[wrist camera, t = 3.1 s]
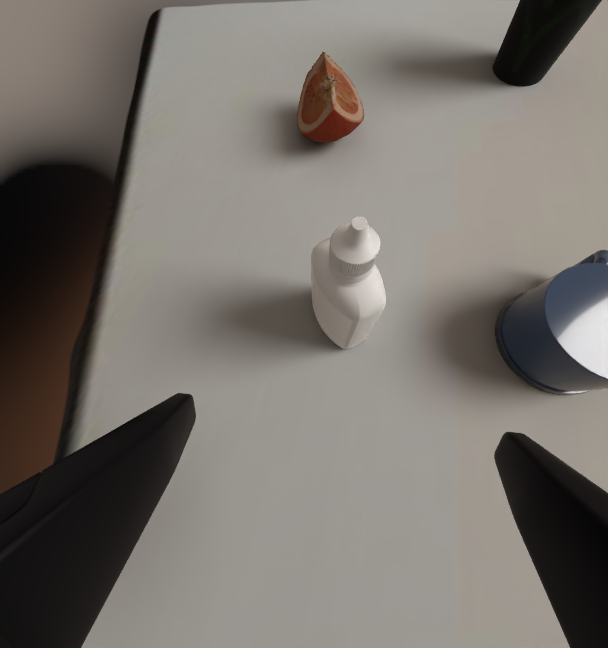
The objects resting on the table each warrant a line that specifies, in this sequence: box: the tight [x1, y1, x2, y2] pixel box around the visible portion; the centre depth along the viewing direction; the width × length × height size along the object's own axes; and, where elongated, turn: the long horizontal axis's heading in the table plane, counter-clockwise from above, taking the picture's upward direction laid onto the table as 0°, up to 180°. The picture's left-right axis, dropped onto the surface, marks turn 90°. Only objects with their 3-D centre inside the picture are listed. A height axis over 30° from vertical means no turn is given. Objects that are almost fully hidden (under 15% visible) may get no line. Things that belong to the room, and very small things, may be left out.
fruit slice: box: [297, 52, 364, 142], centre depth 28 cm, size 8×7×5 cm
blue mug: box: [495, 250, 608, 395], centre depth 20 cm, size 10×8×5 cm
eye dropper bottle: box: [311, 217, 386, 349], centre depth 18 cm, size 4×6×12 cm
